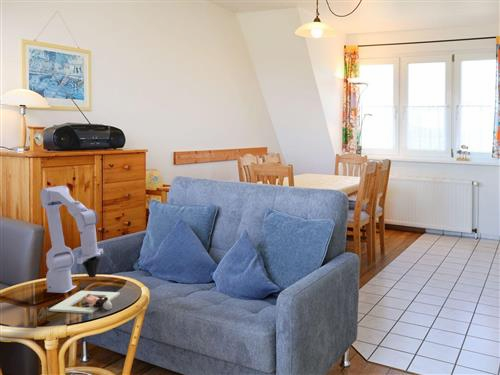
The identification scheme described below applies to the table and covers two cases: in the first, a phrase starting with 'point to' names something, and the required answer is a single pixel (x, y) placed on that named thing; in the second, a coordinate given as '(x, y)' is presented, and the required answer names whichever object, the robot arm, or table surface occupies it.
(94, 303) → the grandmother figurine
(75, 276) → the table surface
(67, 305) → the pale rectangular frame
